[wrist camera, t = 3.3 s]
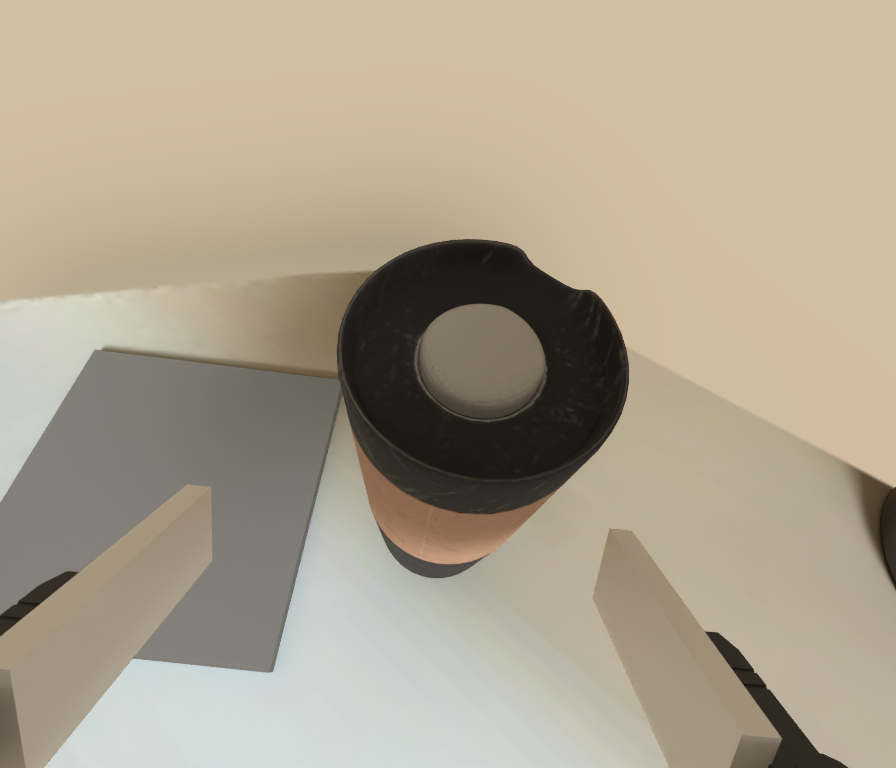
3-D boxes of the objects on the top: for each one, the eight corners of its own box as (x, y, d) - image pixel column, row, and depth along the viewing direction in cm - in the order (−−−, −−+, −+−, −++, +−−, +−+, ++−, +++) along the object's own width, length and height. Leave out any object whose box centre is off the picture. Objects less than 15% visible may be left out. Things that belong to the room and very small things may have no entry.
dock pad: (343, 385, 32) (342, 380, 32) (272, 671, 23) (268, 672, 23) (101, 355, 32) (94, 349, 31) (-67, 635, 23) (-82, 635, 22)
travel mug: (380, 591, 26) (327, 508, 8) (375, 468, 29) (331, 236, 12) (504, 575, 27) (684, 474, 9) (484, 458, 30) (588, 232, 13)
